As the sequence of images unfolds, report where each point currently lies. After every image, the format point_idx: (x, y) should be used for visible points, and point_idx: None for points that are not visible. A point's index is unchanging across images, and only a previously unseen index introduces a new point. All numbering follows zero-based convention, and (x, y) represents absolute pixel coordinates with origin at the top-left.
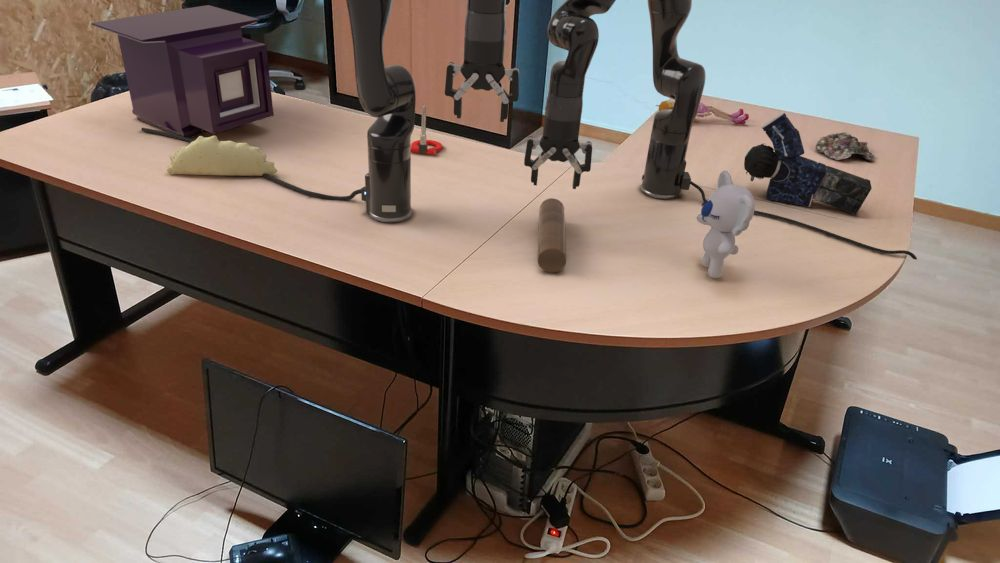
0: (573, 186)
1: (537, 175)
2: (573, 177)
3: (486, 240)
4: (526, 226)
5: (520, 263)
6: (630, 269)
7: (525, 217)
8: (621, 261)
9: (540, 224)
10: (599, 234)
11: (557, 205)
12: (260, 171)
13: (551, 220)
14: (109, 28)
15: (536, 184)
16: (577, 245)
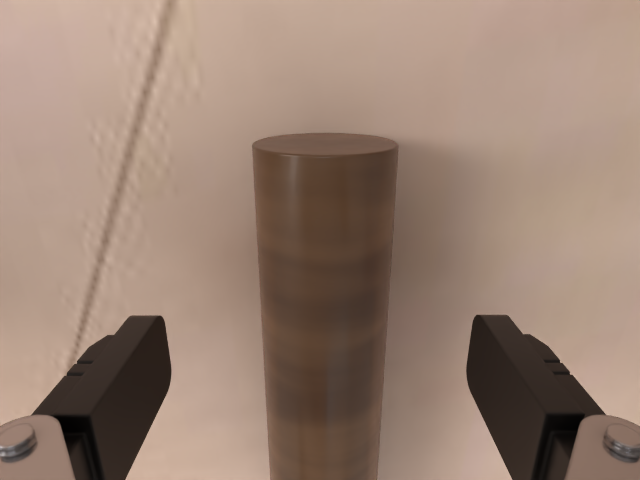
0: (477, 398)
1: (133, 458)
2: (505, 364)
3: (71, 352)
4: (212, 213)
5: (223, 469)
6: None
7: (195, 118)
8: None
9: (266, 373)
10: (549, 233)
11: (352, 241)
12: None
13: (315, 417)
14: None
15: (165, 392)
16: (432, 337)
